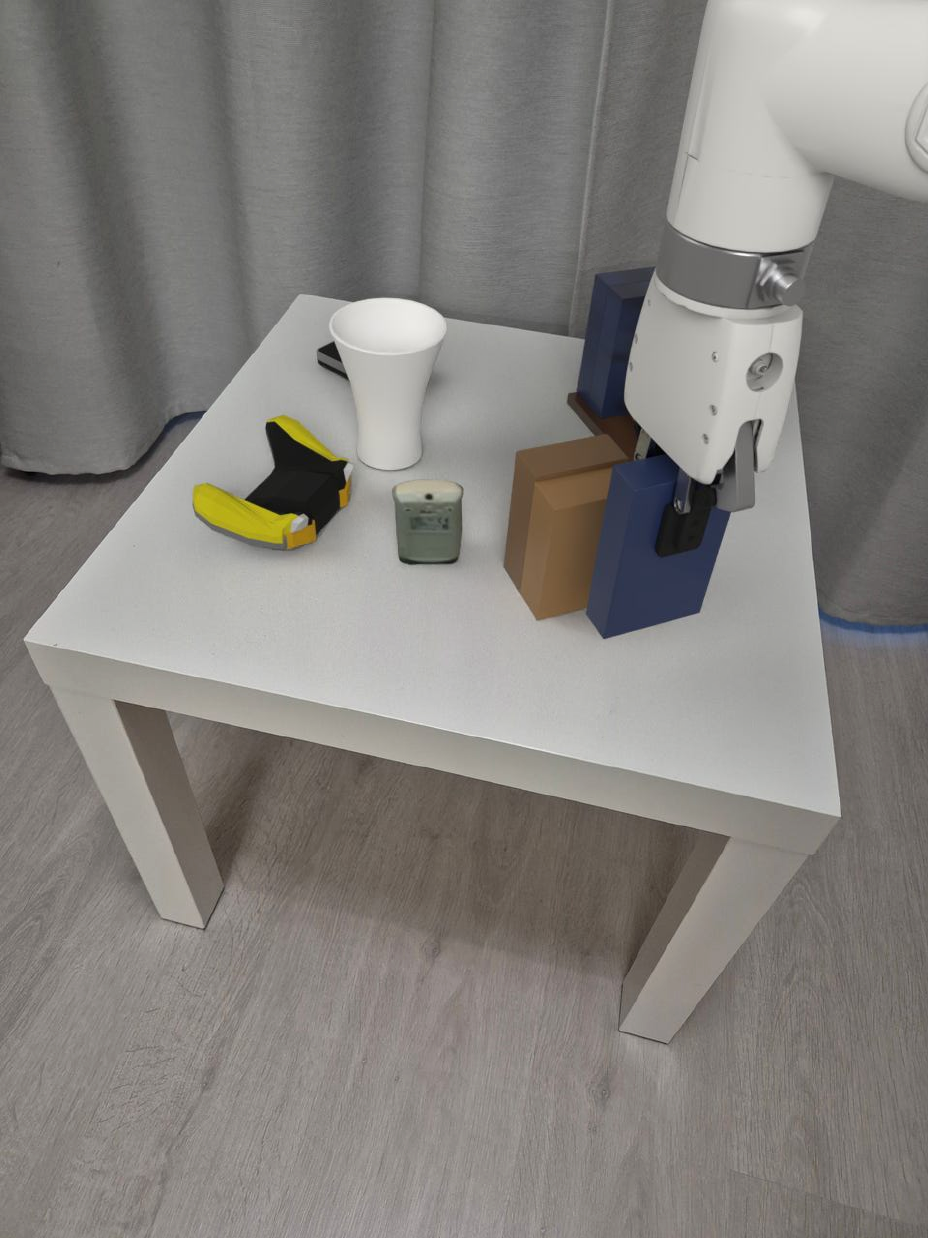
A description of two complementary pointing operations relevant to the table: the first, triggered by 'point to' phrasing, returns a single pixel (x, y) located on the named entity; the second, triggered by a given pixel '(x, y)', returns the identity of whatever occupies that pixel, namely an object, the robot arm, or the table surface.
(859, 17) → the robot arm
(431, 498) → the grey-green rounded box
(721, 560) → the table surface
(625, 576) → the navy book
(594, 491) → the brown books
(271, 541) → the gaming controller
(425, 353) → the cup
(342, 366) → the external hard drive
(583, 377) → the blue bookends on base
